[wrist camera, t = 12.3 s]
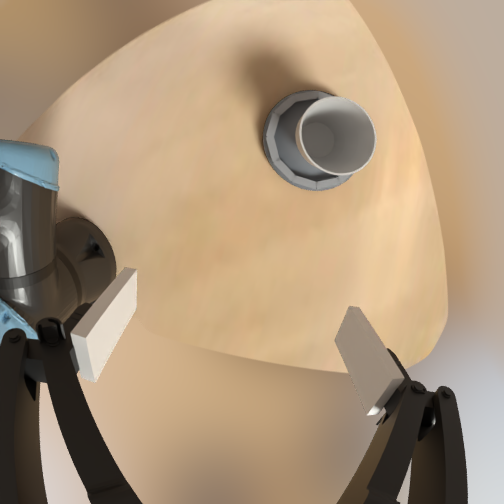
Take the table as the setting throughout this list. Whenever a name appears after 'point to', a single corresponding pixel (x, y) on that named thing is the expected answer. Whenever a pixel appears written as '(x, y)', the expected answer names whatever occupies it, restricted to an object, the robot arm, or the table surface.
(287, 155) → the tray
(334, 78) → the table surface
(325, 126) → the cup
